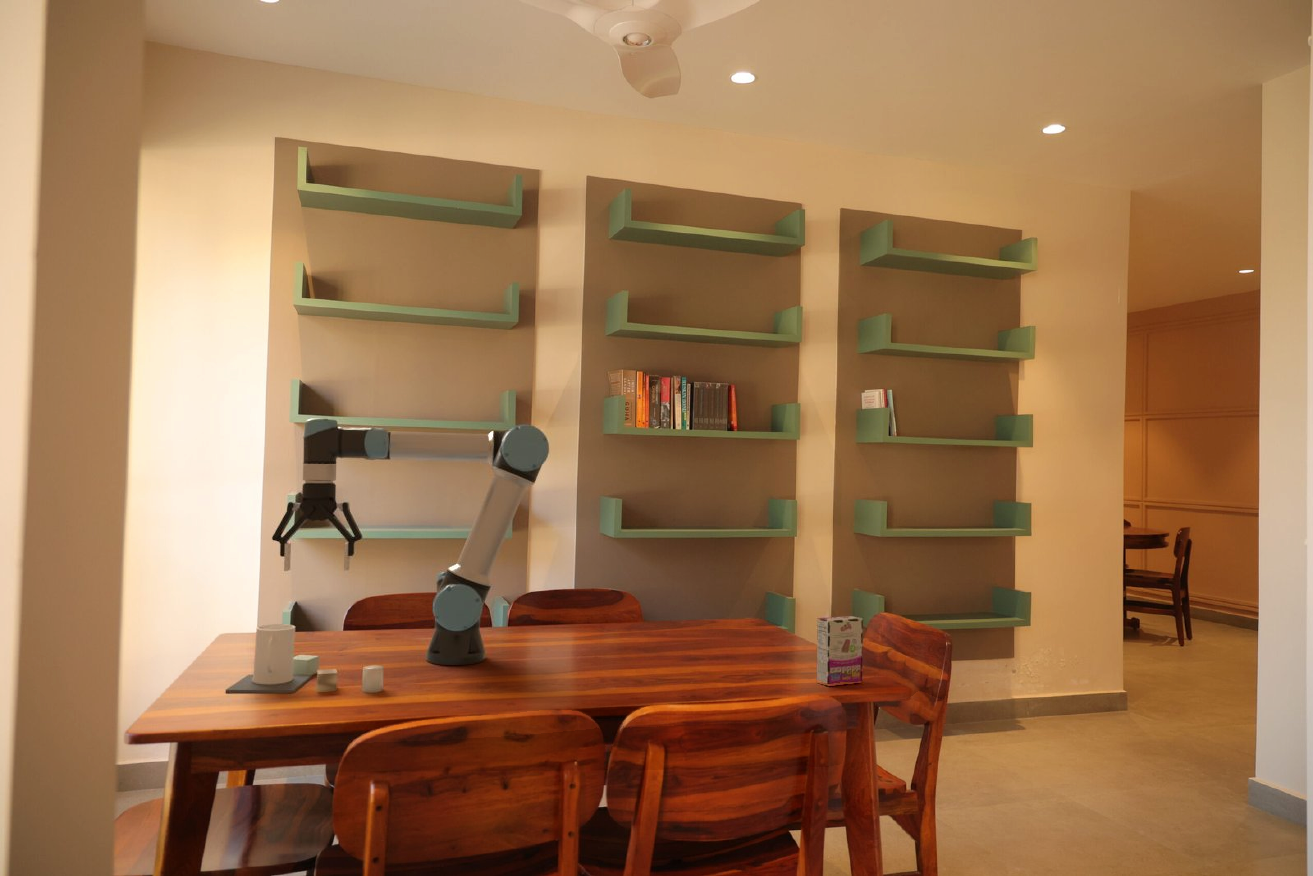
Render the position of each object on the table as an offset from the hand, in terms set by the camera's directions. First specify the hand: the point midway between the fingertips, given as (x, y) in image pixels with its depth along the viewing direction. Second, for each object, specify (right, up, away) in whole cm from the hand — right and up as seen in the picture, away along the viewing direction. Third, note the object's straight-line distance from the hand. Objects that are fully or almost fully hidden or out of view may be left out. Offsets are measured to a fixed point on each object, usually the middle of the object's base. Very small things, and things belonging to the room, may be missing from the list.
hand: (317, 570), depth 201 cm
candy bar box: (+128, -30, +9) cm, 132 cm away
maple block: (+8, -24, -16) cm, 30 cm away
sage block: (-2, -25, -2) cm, 25 cm away
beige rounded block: (+18, -25, -15) cm, 34 cm away
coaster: (-5, -24, -14) cm, 28 cm away
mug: (-5, -23, -14) cm, 27 cm away
